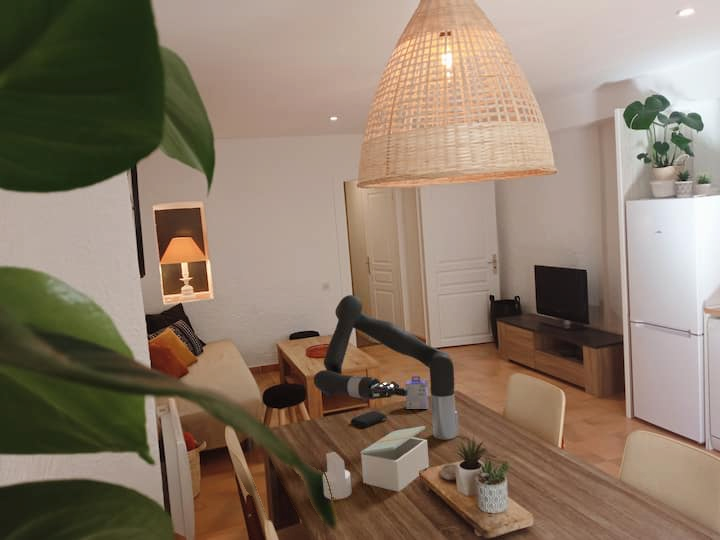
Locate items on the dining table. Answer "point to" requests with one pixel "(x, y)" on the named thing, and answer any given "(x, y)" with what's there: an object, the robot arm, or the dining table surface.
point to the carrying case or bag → (368, 419)
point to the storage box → (395, 465)
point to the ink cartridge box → (416, 394)
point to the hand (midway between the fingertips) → (406, 392)
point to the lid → (392, 440)
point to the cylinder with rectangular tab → (336, 478)
